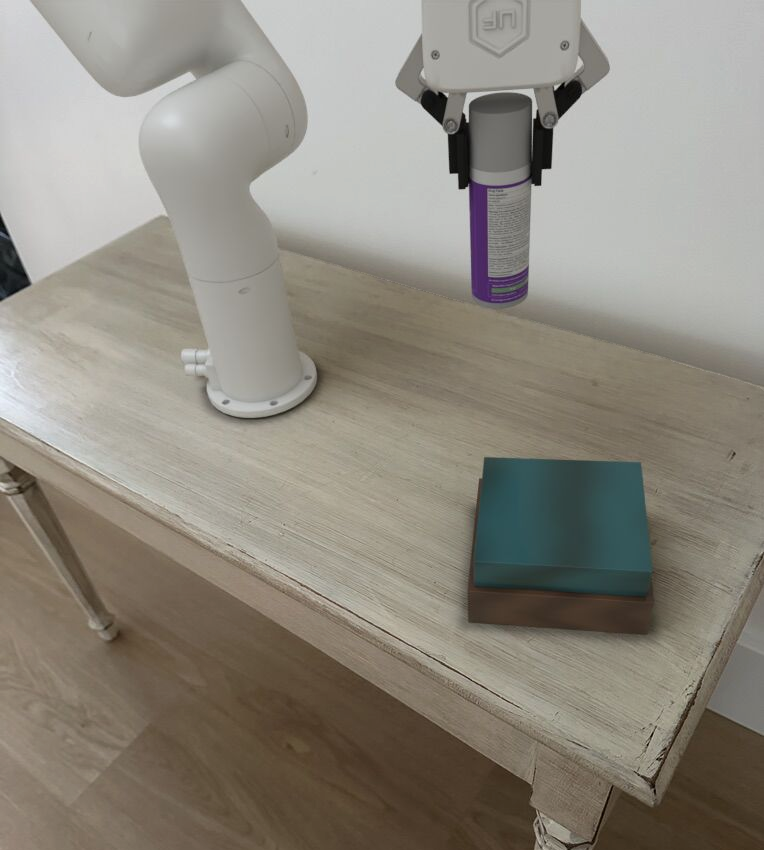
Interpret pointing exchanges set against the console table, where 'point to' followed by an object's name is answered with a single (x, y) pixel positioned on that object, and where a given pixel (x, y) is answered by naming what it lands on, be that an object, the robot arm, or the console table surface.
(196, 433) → the console table surface
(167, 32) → the robot arm
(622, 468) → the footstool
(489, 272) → the container
